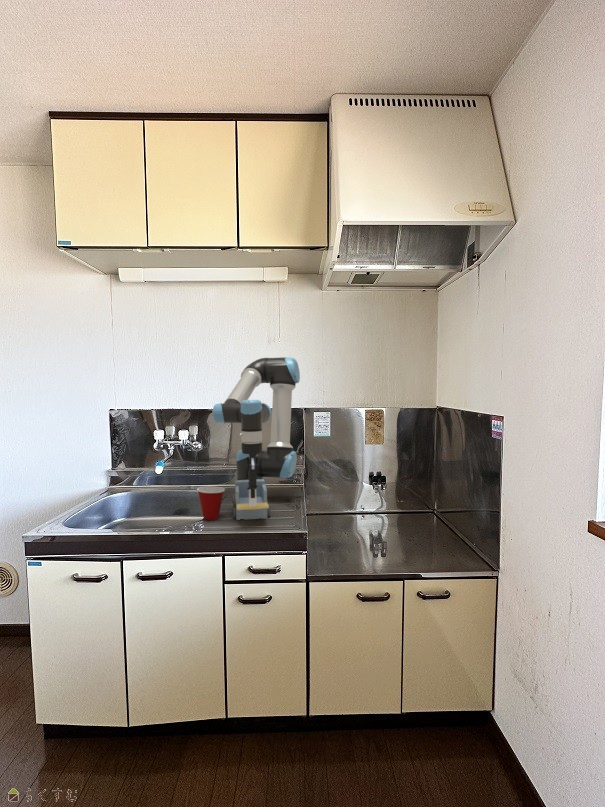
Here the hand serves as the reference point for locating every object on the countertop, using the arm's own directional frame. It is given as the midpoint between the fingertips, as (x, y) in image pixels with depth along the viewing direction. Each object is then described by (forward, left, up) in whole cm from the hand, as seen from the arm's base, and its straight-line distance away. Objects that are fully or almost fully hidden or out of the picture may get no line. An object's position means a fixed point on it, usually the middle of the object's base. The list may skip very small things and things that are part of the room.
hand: (252, 505), depth 173 cm
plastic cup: (+1, -21, -8) cm, 22 cm away
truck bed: (-12, -12, -8) cm, 19 cm away
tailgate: (-6, -6, -2) cm, 9 cm away
